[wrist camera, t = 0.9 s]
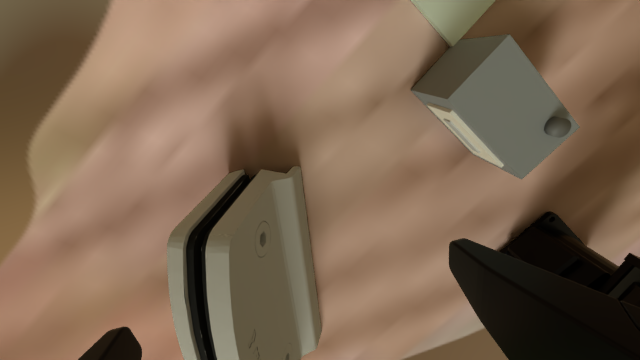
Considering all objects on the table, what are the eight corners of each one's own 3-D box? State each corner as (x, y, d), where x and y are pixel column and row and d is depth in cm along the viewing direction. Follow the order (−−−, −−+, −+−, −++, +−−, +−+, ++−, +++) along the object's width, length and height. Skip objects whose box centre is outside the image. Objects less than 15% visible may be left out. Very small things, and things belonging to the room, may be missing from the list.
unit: (516, 112, 21) (589, 129, 16) (469, 157, 22) (524, 187, 17) (456, 40, 19) (518, 33, 14) (407, 93, 20) (448, 105, 15)
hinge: (322, 334, 27) (283, 471, 19) (274, 327, 29) (216, 452, 20) (299, 161, 21) (224, 244, 12) (239, 161, 22) (131, 237, 13)
